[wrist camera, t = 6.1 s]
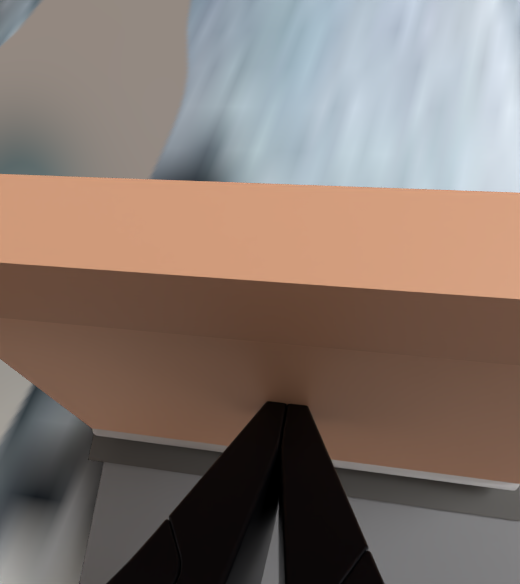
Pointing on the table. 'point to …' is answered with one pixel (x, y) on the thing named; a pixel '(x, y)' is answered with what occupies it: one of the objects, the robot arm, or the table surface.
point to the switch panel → (362, 497)
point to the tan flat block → (273, 315)
